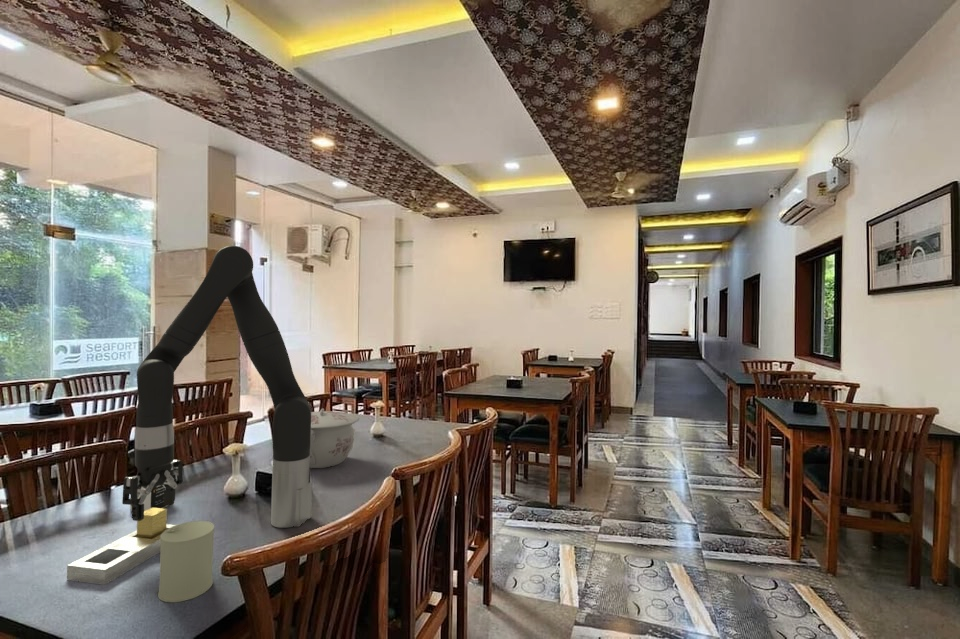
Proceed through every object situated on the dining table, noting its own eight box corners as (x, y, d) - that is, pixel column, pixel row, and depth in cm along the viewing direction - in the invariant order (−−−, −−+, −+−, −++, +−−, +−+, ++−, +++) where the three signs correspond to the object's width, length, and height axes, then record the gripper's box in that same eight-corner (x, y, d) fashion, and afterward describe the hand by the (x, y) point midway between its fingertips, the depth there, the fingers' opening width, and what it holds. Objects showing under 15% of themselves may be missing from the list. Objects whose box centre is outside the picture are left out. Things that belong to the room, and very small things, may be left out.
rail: (183, 538, 110) (183, 525, 110) (104, 584, 91) (105, 569, 91) (151, 534, 112) (151, 522, 112) (66, 580, 92) (67, 565, 92)
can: (175, 575, 94) (177, 518, 95) (221, 575, 95) (223, 518, 95) (146, 603, 85) (148, 539, 85) (198, 602, 86) (200, 539, 86)
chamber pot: (329, 448, 190) (330, 399, 190) (373, 462, 174) (374, 408, 174) (264, 464, 167) (266, 408, 167) (308, 481, 151) (310, 419, 151)
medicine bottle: (150, 514, 123) (152, 470, 123) (129, 511, 125) (130, 467, 125) (173, 503, 130) (174, 462, 130) (152, 501, 132) (154, 460, 132)
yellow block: (165, 542, 108) (166, 508, 108) (151, 550, 104) (152, 515, 104) (151, 540, 109) (152, 507, 109) (136, 548, 105) (137, 514, 105)
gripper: (142, 453, 99) (142, 527, 99) (192, 436, 113) (191, 501, 113) (112, 451, 100) (111, 524, 100) (165, 435, 114) (164, 499, 114)
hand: (154, 512), depth 106 cm, fingers open, 8 cm apart
